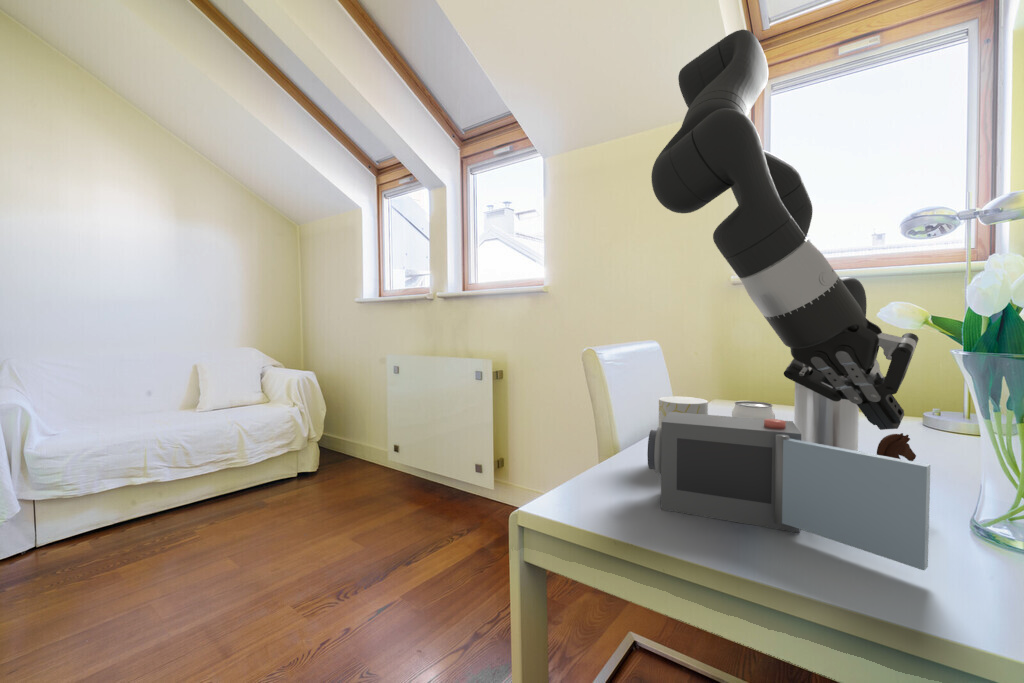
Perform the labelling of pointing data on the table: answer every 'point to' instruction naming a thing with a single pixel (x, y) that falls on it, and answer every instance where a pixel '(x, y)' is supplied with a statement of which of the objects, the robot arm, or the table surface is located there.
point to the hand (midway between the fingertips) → (891, 424)
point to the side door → (854, 498)
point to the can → (753, 410)
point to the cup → (681, 406)
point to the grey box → (719, 466)
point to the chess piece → (896, 447)
